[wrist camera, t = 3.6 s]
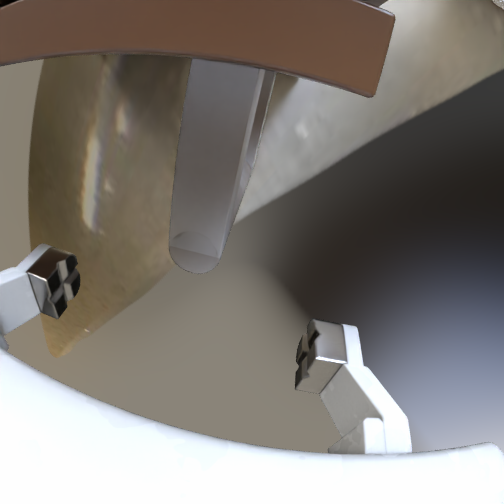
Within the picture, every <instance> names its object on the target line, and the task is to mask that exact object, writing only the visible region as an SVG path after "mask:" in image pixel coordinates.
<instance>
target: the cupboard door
mask: <svg viewBox="0 0 504 504" xmlns="http://www.w3.org/2000/svg"><path fill="white" fill-rule="evenodd" d="M394 23H395V15H394V14H393V13H391V12H389V11H387V10H384V9H382V8H379V7H377V6H374V5H372V4H369V3H366V2H363V1H361V0H18V1H16V2H13V3H10V4H8V5H5V6H3V7H1V8H0V66H5V65H10V64H15V63H21V62H26V61H33V60H40V59H48V58H56V57H67V56H80V55H100V54H143V55H163V56H177V57H188V58H193V59H192V62H191V67H190V73H189V78H188V84H187V89H186V95H185V101H184V107H183V114H182V120H181V127H180V134H179V142H178V149H177V157H176V166H175V175H174V184H173V194H172V205H171V217H170V230H169V252H170V255H171V258H172V259H173V261H174V262H175V263H176V264H177V265H178V266H179V267H180V268H182V269H183V270H185V271H188V272H191V273H196V274H202V273H207V272H209V271H211V270H213V269H214V268H215V267H216V266H217V265H218V264H219V261H220V259H221V256H222V253H223V250H224V247H225V245H226V242H227V239H228V236H229V234H230V231H231V228H232V225H233V223H234V220H235V217H236V214H237V212H238V209H239V206H240V203H241V201H242V198H243V195H244V193H245V190H246V187H247V185H248V182H249V179H250V177H251V174H252V171H253V169H254V165H255V161H256V157H257V153H258V148H259V144H260V140H261V136H262V131H263V127H264V123H265V119H266V115H267V110H268V106H269V102H270V98H271V94H272V90H273V86H274V82H275V78H276V74H277V72H278V73H283V74H287V75H291V76H295V77H299V78H303V79H307V80H311V81H315V82H318V83H322V84H326V85H329V86H333V87H336V88H340V89H343V90H346V91H349V92H352V93H356V94H359V95H362V96H365V97H368V98H370V97H373V96H374V95H375V93H376V90H377V86H378V83H379V80H380V76H381V73H382V69H383V65H384V62H385V58H386V55H387V51H388V47H389V43H390V39H391V35H392V31H393V27H394Z"/></svg>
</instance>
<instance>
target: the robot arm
mask: <svg viewBox="0 0 504 504" xmlns="http://www.w3.org/2000/svg"><path fill="white" fill-rule="evenodd" d="M77 264H78V263H77V258H76V256H75V255H74V254H72V253H69V252H66V251H64V250H61V249H58V248H55V247H52V246H49V245H47V244H44V243H43V244H40V245H38V246H37V247H36V248H35V249H34V250H33V251H32V252H31V253H30V254H29V255H28V256H27V257H26V258H25V259H24V260H23V261H22V262H21V263H20V264H19V265H18V266H17V267H16V268H14V267H11V268H9V269H6V270H4V271H1V272H0V504H504V454H503V452H502V451H501V450H500V449H499V448H498V447H497V446H496V445H495V444H494V443H491V442H485V443H480V444H475V445H470V446H464V447H458V448H451V449H444V450H435V451H426V452H415V453H413V452H412V445H411V437H410V430H409V423H408V418H407V417H406V415H405V414H404V413H403V411H402V410H401V409H400V407H398V405H397V404H396V403H395V401H394V400H393V399H392V397H391V396H390V395H389V393H388V392H387V391H386V390H385V388H384V387H383V386H382V385H381V383H380V382H379V381H378V380H377V378H376V377H375V376H374V375H373V373H372V372H371V371H370V369H369V368H368V367H364V366H363V360H362V352H361V346H360V340H359V334H358V329H357V327H356V326H350V325H345V324H339V323H334V322H329V321H324V320H319V319H314V318H313V319H312V320H310V322H309V324H308V326H307V333H306V334H304V335H303V336H302V338H301V340H300V342H299V345H298V349H297V356H296V362H297V364H298V365H299V368H298V370H297V371H296V378H295V390H300V391H305V392H310V393H316V394H320V395H319V396H320V398H321V400H322V401H323V403H324V405H325V407H326V409H327V411H328V413H329V414H330V416H331V418H332V420H333V422H334V424H335V426H336V427H337V429H338V431H339V433H340V435H341V437H342V438H341V439H340V440H339V441H337V442H336V443H335V444H334V445H332V446H331V447H330V448H328V453H317V452H305V451H295V450H286V449H279V448H271V447H265V446H258V445H253V444H247V443H241V442H236V441H231V440H226V439H222V438H217V437H213V436H208V435H204V434H200V433H196V432H193V431H189V430H185V429H182V428H178V427H175V426H171V425H168V424H165V423H161V422H158V421H155V420H152V419H149V418H146V417H143V416H140V415H137V414H134V413H132V412H129V411H126V410H123V409H121V408H118V407H116V406H113V405H111V404H108V403H106V402H103V401H101V400H99V399H96V398H94V397H91V396H89V395H87V394H85V393H83V392H80V391H78V390H76V389H74V388H72V387H70V386H68V385H66V384H64V383H62V382H60V381H58V380H56V379H54V378H52V377H50V376H48V375H46V374H44V373H42V372H41V371H39V370H37V369H35V368H33V367H32V366H30V365H28V364H26V363H25V362H23V361H21V360H19V359H18V358H16V357H15V356H13V355H11V354H10V353H8V352H7V350H8V348H9V347H8V344H7V342H6V340H5V338H4V335H6V334H7V333H9V332H11V331H12V330H14V329H16V328H17V327H19V326H21V325H22V324H24V323H25V322H27V321H29V320H30V319H32V318H33V317H35V316H37V315H39V314H40V313H41V312H42V313H44V314H46V315H49V316H51V317H53V318H56V319H59V317H60V316H61V315H62V313H63V312H64V311H65V309H66V308H67V301H69V300H71V299H73V298H74V297H75V296H76V294H77V293H78V290H79V287H80V274H79V272H78V271H77V269H76V268H75V267H76V266H77Z"/></svg>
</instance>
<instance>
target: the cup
mask: <svg viewBox="0 0 504 504" xmlns="http://www.w3.org/2000/svg"><path fill="white" fill-rule="evenodd" d="M492 1H493V2H494V3H495V4H496V5H498V6H499V7H501V8H502V9H504V0H492Z"/></svg>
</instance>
